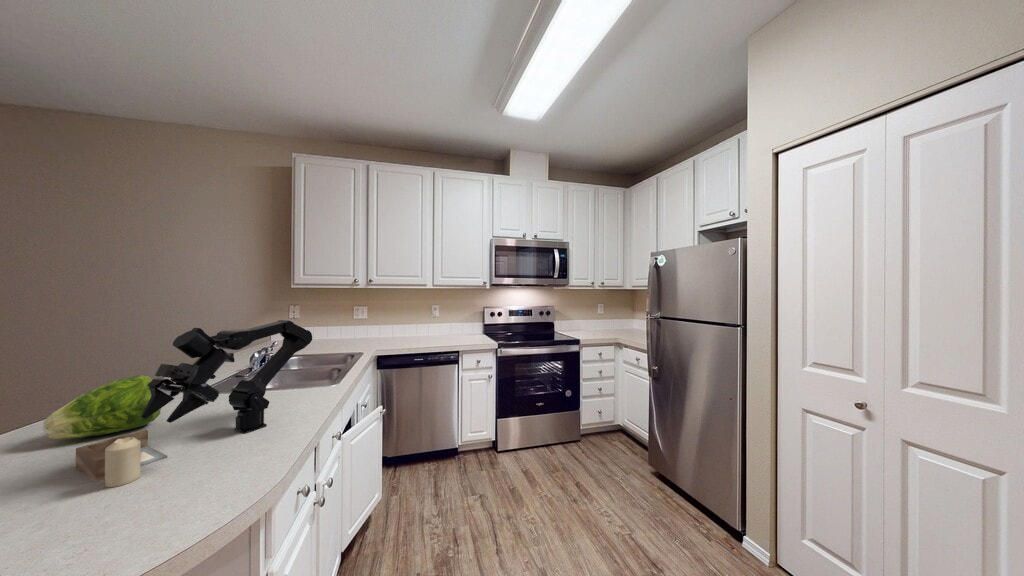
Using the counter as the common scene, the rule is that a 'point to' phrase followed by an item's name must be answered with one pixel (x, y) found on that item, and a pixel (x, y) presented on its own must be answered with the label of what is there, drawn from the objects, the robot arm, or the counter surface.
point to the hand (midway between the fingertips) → (155, 419)
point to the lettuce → (103, 410)
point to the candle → (122, 462)
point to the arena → (93, 455)
